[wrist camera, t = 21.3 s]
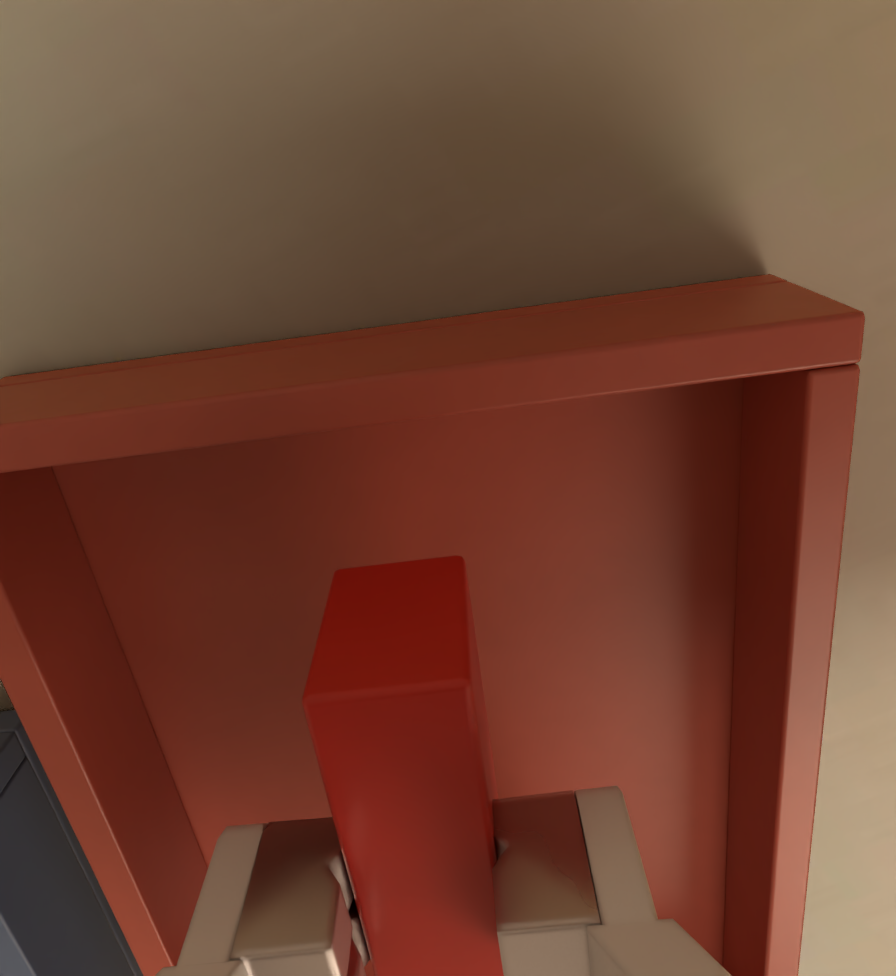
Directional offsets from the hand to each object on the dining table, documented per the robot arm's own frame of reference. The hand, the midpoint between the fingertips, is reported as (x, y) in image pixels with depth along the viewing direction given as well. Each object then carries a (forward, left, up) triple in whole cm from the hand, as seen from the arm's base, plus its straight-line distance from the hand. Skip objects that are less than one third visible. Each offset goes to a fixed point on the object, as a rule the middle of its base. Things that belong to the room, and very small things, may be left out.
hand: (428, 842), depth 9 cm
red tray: (+2, 0, -5) cm, 5 cm away
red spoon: (+2, 0, -2) cm, 3 cm away
